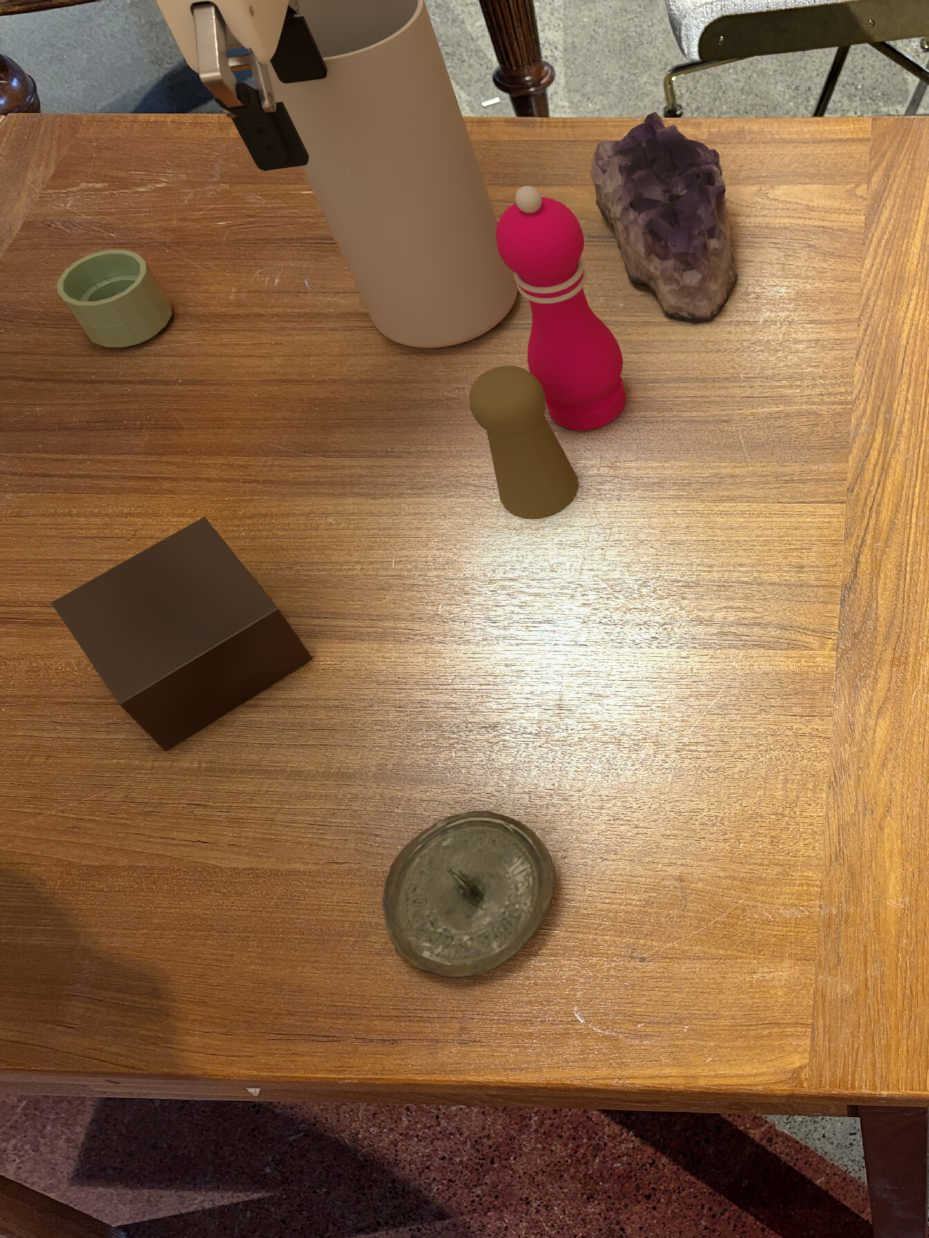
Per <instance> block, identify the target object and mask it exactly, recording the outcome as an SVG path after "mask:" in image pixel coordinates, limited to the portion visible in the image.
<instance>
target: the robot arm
mask: <svg viewBox="0 0 929 1238" xmlns="http://www.w3.org/2000/svg"><path fill="white" fill-rule="evenodd" d="M155 1H156V4H157V6H158V8H159V10H160V12H161V14H162V16H163V18H164V20H165V22H166V24H167V26H168V28H169V30H170V33H171V34H172V36H173V39H174V40H175V43H176V44H177V47H178V49H179V50H180V53H181V54H182V56H183V58H184V60H185V62H186V63H187V65H188V66H189V68H190V69H191V70H192V71H194V72H195V73H197V74H198V76H199V79H200V81H201V83H202V85H204V86H205V88H206V89H207V90H208V91H209V92H210V93H211V94H212V95H213V97H214V98H213V100H214V102H215V103H216V104H217V105H218V107H220V108H221V109H222V110H223V112H224V114H225V115H226V117H227V118H228V119H231V121H232V123H233V124H234V126H235V128H236V130H237V132H238V134H239V136H240V138H241V140H242V142H243V144H244V145H245V147H246V149H247V151H248V153H249V155H250V156H251V158H252V160H253V162H254V164H255V166H256V167H257V168H258V170H260V171H265V172H267V171H274V170H282V169H289V168H297V167H302V166H305V165H307V164H308V160H309V154H308V152H307V150H306V148H305V146H304V144H303V142H302V140H301V138H300V136H299V134H298V132H297V130H296V128H295V126H294V124H293V122H292V120H291V118H290V115H289V113H288V111H287V109H286V107H285V105H284V103H283V102H276V101H275V97H274V93H273V89H272V85H271V81H270V76H269V72H268V68H267V63H268V62H269V61H270V62H271V64H272V66H273V69H274V71H275V73H276V75H277V77H278V79H279V80H280V81H281V82H282V83H285V84H288V83H296V82H303V81H311V80H319V79H324V78H326V76H327V71H328V70H327V67H326V65H325V63H324V60H323V58H322V56H321V54H320V51H319V49H318V47H317V45H316V43H315V40H314V38H313V36H312V34H311V31H310V29H309V27H308V25H307V23H306V20H305V18H304V16H299V17H295V16H294V15H298V14H300V13H301V9H300V4H299V1H298V0H155ZM236 48H237V49H238V48H245V49H246V50H248V48H249V50H250V52H249V53H244V54H235V55H229V50H230V49H236ZM249 50H248V51H249ZM246 70H251V72H252V76H253V81H254V85H255V87H253V86H251V85H249V84H248V83H247V82H244V81H242V82H239V81H238V80H237V76H236V75H235V73H234V72H238V71H246Z"/></svg>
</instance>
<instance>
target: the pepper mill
mask: <svg viewBox="0 0 929 1238" xmlns="http://www.w3.org/2000/svg"><path fill="white" fill-rule="evenodd" d="M514 201H515V202H514V203H513V204H511V205H509V206H508V207H507V208H506V209H505V210H504V211H503V212H502V214H501V216H500V217H499V219H498V221H497V222H498V224H497V229H496V242H497V248H498V252H499V254H500V257H501V258H502V260H503V261H504V263H505V264H506V265H507V267H508V268H509V269H511V270H512V271H513V272H514V278H515V281H516V282H517V291H518V292H519V294H520V295H521V296H522V297H523V298H525V299H526V300H528V303H529V307H530V312H531V327H530V333H529V338H528V343H527V354H526V355H527V362H526V363H527V366H528V372H530V373H531V374H533V375H534V376H535V377H536V379H537V380H538V381H539V383H540V384H541V386H542V387H543V391H544V394H545V401H546V403H545V405H546V407H547V410H548V413H549V416H550V417H551V419H552V420H553V421H554V422H555V423H556V424H558V425H559V426H560V427H563V428H565V429H568V430H572V431H581V432H582V431H583V432H585V431H591V430H596V429H600V428H602V427H604V426H606V425H608V424H610V423H612V422H613V421H614V420H616V419H617V418H618V417H619V416H620V415H621V413H622V412H623V410H624V409H625V406H626V403H627V394H626V391H625V387H624V383H623V379H622V376H621V375H622V372H623V367H624V358H623V357H624V356H623V353H622V351H621V347H620V344H619V342H618V340H617V338H616V337H615V335H614V334H613V332H612V331H611V329H610V328H609V327H608V325H606V324H605V323H604V322H603V320H602V319H600V318H599V317H598V316H597V315H596V314H595V313H594V311H593V309H592V308H591V307H590V304H589V303H588V300H587V297H586V294H585V289H584V286H585V284H586V281H587V271H586V269H585V266H584V265H585V264H584V260H583V258H582V254H583V252H584V247H585V238H584V237H585V236H584V232H583V229H582V226H581V224H580V222H579V220H578V218H577V216H576V215H575V213H574V212H573V211H572V210H571V209H570V208H569V207H567V206H566V205H565V204H564V203H563V202H560V201H558V200H557V199H554V198H551V197H545V196H542V194H541V193H540V191H539V190H538V189H537V188H536V187H534V186H531V185H524V186H521V187H520V188H518V189H517V191H516V193H515V195H514Z"/></svg>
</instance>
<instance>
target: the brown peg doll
mask: <svg viewBox="0 0 929 1238" xmlns="http://www.w3.org/2000/svg"><path fill="white" fill-rule="evenodd" d="M468 400H469V409H470V412H471V414H472V416H473V418H474V420H475V421H476V422H477V424H478V425H479V426H480V427H481V428H482V429H484V430H485V431H486V435H487V440H488V446H489V451H490V454H491V460H492V464H493V470H494V475H495V481H496V485H497V490H498V496H499V500H500V503H501V504H502V506H503V508H504V509H505V510H506V511H507V512H509V513H510V514H512V515H513V516H516V517H519V518H522V519H531V520H532V519H533V520H535V519H536V520H539V519H542V518H547V517H550V516H553V515H555V514H557V513H560V512H561V511H563V510H564V509H566V508H567V507H568V506H569V505H571V503H572V502H573V500H574V499H575V497H576V496H577V494H578V491H579V486H580V484H579V478H578V475H577V474H576V472H575V469H574V468H573V466H572V464H571V462H570V460H569V458H568V457H567V455H566V453H565V451H564V449H563V447H562V446H561V443H560V441H559V440H558V437H557V435H556V434H555V432H554V430H553V428H552V426H551V424H550V423H549V421H548V419H547V417H546V415H545V410H546V401H545V394H544V391H543V387H542V386H541V384H540V383H539V381H538V380H537V379H536V377H535V376H534V375H533V374H531V373H530V372H529V370H527V369H525V368H523V367H521V366H520V367H519V366H517V365H500V366H495V367H492V368H491V369H488V370H485V372H483V373H482V374H480V375H479V376H478V377H476V379H475V380H474V381H473V384H472V386H471V389H470V391H469V394H468Z"/></svg>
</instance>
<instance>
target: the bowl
mask: <svg viewBox="0 0 929 1238" xmlns="http://www.w3.org/2000/svg"><path fill="white" fill-rule="evenodd" d="M56 283H57V284H56V293H57V294H58V296H59V297H60V299H61V300H62V302H63V304H64V305H65V306H66V307H67V309H68V310H69V312H70V313H71V315H72V316H73V318H74V319H75V320H76V322H77V323H78V325H79V327H80V328H81V329H82V331H83V332H84V333H85V335H86V336H87V337H88V339H89V340H90V341H91V342H92V343H93V344H97V345H99V346H101V347H105V348H127V347H132V346H136V345H140V344H142V343H144V342H147V341H149V340H151V339H152V338H154V337H155V336H156V335H157V334H159V333H160V332H161V331H162V330H163V329H164V328H165V327H166V326H167V325H168V323H169V321H170V320H171V317H172V315H173V308H172V302H171V301H170V300H169V298H168V296H167V294H166V293H165V292H164V290H163V287H161V285H160V283H159V282H158V280H157V278H156V277H155V275H154V273H153V272H152V270H151V269H150V266H149V265H148V263H147V262H146V260H145V259H144V258H143V257H142V256H141V255H140V254H139V253H137V252H134V251H131V250H128V249H106V250H102V251H97V252H93V253H90V254H88V255H86V256H84V257H82V258H79V259H77V260H76V261H74V262H73V263H72V264H70V265H69V266H68V267H67V268H66V269H65V270H63V272H62V273H61V275H60V277H59V278H58V280H57V282H56Z"/></svg>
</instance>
